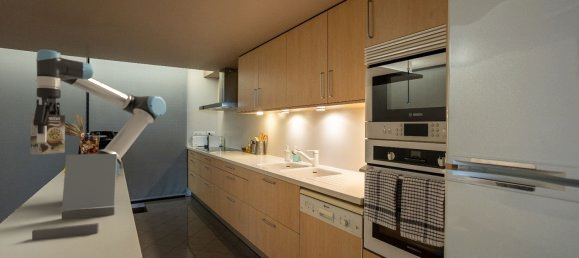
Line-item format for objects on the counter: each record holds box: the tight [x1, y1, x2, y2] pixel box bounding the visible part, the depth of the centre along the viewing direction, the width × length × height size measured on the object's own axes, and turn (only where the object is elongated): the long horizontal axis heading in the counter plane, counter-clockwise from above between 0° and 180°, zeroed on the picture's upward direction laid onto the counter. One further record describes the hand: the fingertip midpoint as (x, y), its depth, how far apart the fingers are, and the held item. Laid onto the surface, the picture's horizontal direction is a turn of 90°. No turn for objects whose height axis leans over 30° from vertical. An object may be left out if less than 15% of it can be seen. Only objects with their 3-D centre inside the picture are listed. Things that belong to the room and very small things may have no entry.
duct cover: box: [61, 153, 117, 211], centre depth 115 cm, size 22×18×1 cm
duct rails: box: [31, 206, 116, 241], centre depth 103 cm, size 23×18×3 cm
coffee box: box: [29, 113, 66, 155], centre depth 113 cm, size 9×6×16 cm
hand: (48, 141), depth 113 cm, fingers closed on coffee box, 10 cm apart
